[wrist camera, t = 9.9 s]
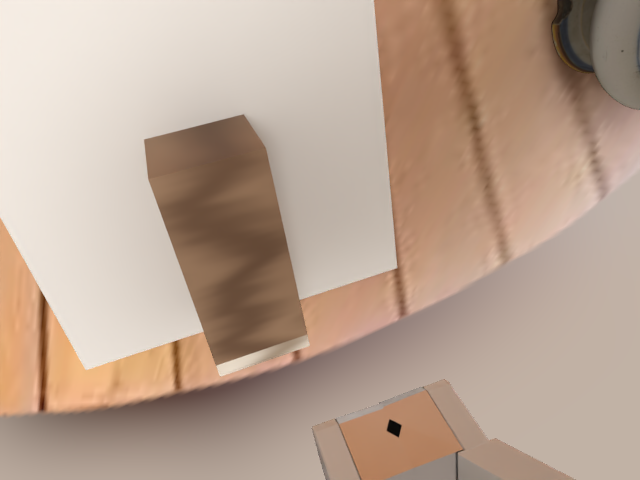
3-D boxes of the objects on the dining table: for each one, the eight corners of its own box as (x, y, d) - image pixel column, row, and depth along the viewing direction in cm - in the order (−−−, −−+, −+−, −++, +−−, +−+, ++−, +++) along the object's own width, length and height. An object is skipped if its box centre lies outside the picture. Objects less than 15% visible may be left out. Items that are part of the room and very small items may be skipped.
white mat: (360, -87, 29) (366, -87, 29) (392, 262, 42) (397, 268, 42) (-112, 3, 25) (-118, 5, 24) (86, 362, 38) (85, 370, 37)
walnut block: (266, 147, 27) (309, 345, 34) (243, 114, 32) (286, 293, 39) (148, 179, 26) (220, 376, 33) (143, 139, 31) (207, 319, 38)
